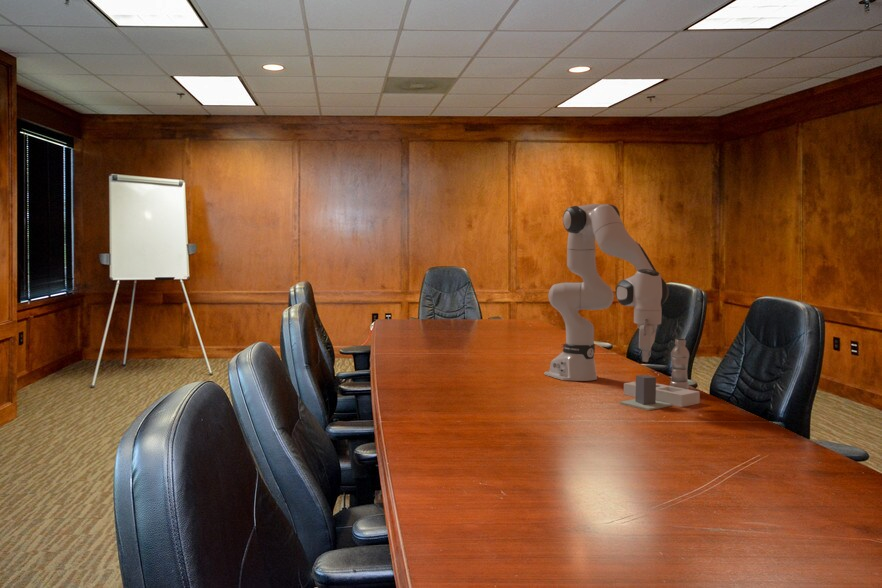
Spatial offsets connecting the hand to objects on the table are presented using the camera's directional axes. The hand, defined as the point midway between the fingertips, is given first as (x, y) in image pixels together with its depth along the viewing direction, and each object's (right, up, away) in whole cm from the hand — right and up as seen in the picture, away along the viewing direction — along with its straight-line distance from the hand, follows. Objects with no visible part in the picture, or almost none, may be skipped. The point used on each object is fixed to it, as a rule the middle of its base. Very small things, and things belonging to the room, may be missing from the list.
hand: (646, 359), depth 222 cm
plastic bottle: (+17, -15, +18) cm, 29 cm away
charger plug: (0, -15, +1) cm, 15 cm away
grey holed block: (+8, -15, +10) cm, 20 cm away
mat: (0, -15, +1) cm, 15 cm away
